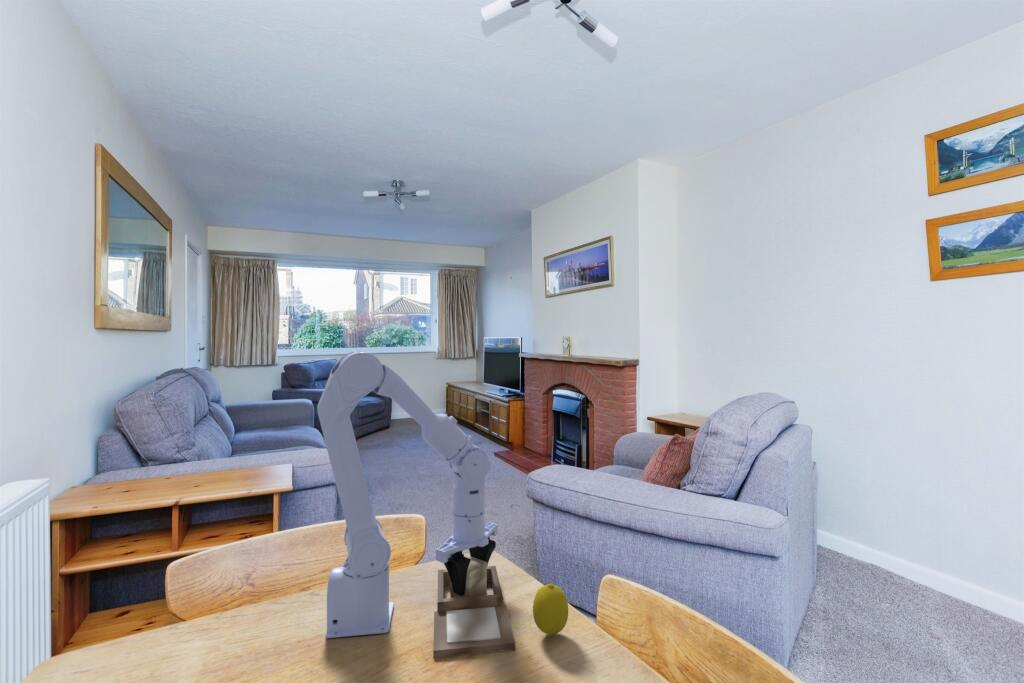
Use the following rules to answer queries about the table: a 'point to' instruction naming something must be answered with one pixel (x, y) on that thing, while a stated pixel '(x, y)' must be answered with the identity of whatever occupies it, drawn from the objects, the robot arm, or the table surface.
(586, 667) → the table surface
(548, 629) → the lemon
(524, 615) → the table surface
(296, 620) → the table surface
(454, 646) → the brown divided tray
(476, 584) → the block
